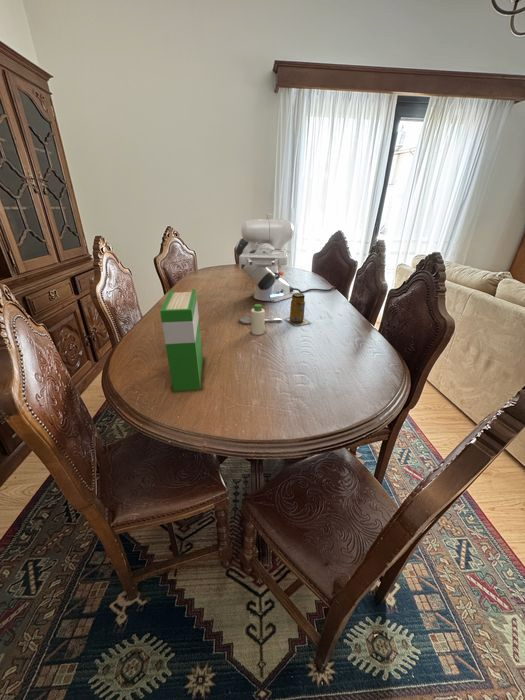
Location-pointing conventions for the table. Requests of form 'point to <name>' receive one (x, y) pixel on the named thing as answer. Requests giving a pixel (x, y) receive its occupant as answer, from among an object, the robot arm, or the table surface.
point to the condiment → (297, 310)
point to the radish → (257, 319)
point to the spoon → (248, 320)
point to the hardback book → (183, 339)
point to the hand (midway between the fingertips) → (261, 263)
